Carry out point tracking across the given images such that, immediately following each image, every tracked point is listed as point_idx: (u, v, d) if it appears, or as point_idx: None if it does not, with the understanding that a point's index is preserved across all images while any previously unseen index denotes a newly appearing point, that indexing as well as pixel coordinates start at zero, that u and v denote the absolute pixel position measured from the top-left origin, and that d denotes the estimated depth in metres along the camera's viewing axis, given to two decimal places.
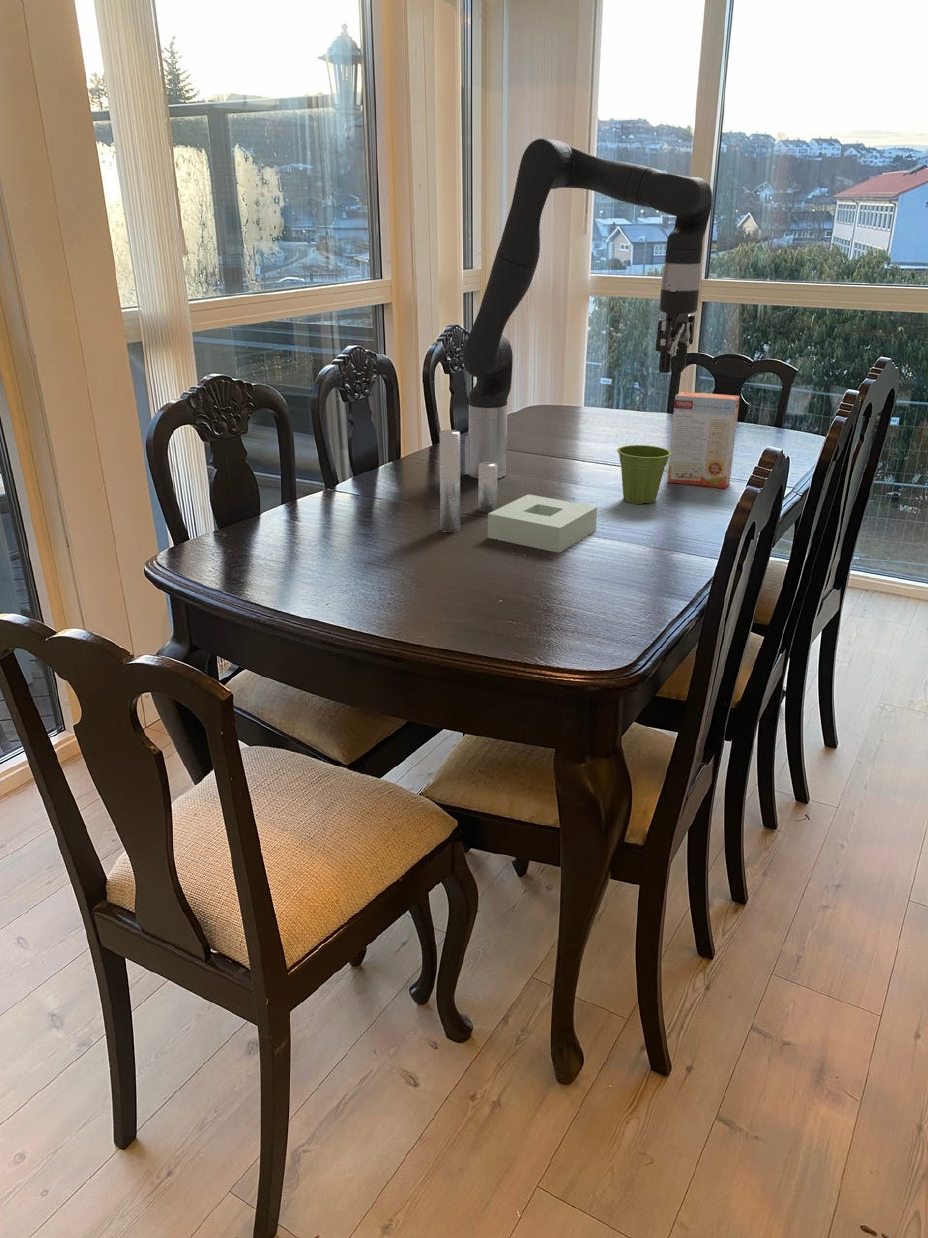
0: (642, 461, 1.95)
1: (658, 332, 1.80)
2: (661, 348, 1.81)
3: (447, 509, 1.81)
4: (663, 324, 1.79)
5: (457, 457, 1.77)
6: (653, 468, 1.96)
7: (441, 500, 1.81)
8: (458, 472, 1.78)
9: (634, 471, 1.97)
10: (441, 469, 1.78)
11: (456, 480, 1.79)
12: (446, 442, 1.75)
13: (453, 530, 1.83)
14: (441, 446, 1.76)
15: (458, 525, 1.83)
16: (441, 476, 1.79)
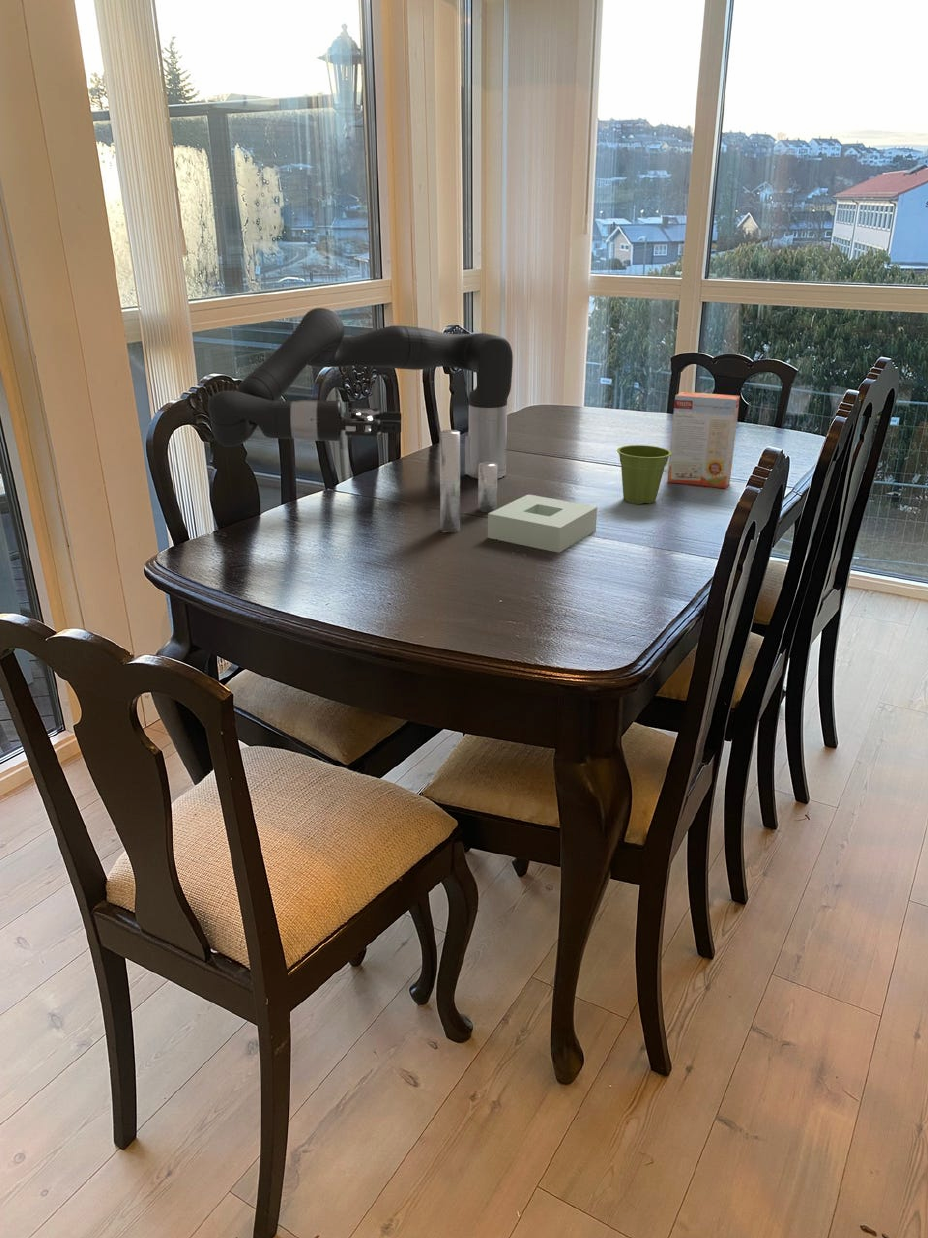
0: (642, 461, 1.95)
1: None
2: None
3: (447, 509, 1.81)
4: None
5: (457, 457, 1.77)
6: (653, 468, 1.96)
7: (441, 500, 1.81)
8: (458, 472, 1.78)
9: (634, 471, 1.97)
10: (441, 469, 1.78)
11: (456, 480, 1.79)
12: (446, 442, 1.75)
13: (453, 530, 1.83)
14: (441, 446, 1.76)
15: (458, 525, 1.83)
16: (441, 476, 1.79)
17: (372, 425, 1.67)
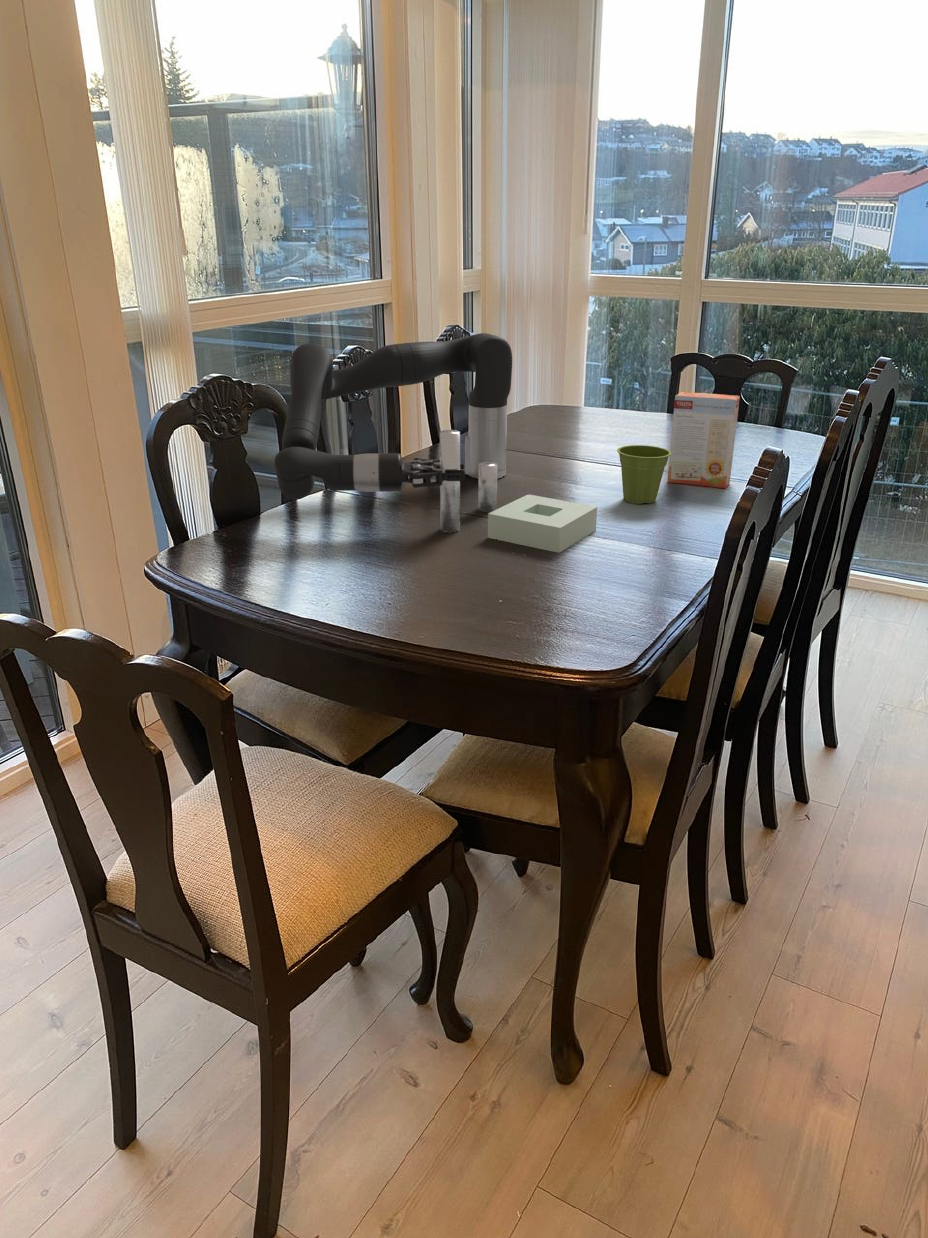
0: (642, 461, 1.95)
1: None
2: None
3: (447, 509, 1.81)
4: None
5: (457, 457, 1.77)
6: (653, 468, 1.96)
7: (441, 500, 1.81)
8: None
9: (634, 471, 1.97)
10: None
11: None
12: (446, 442, 1.75)
13: (453, 530, 1.83)
14: (441, 446, 1.76)
15: (458, 525, 1.83)
16: None
17: (437, 475, 1.75)
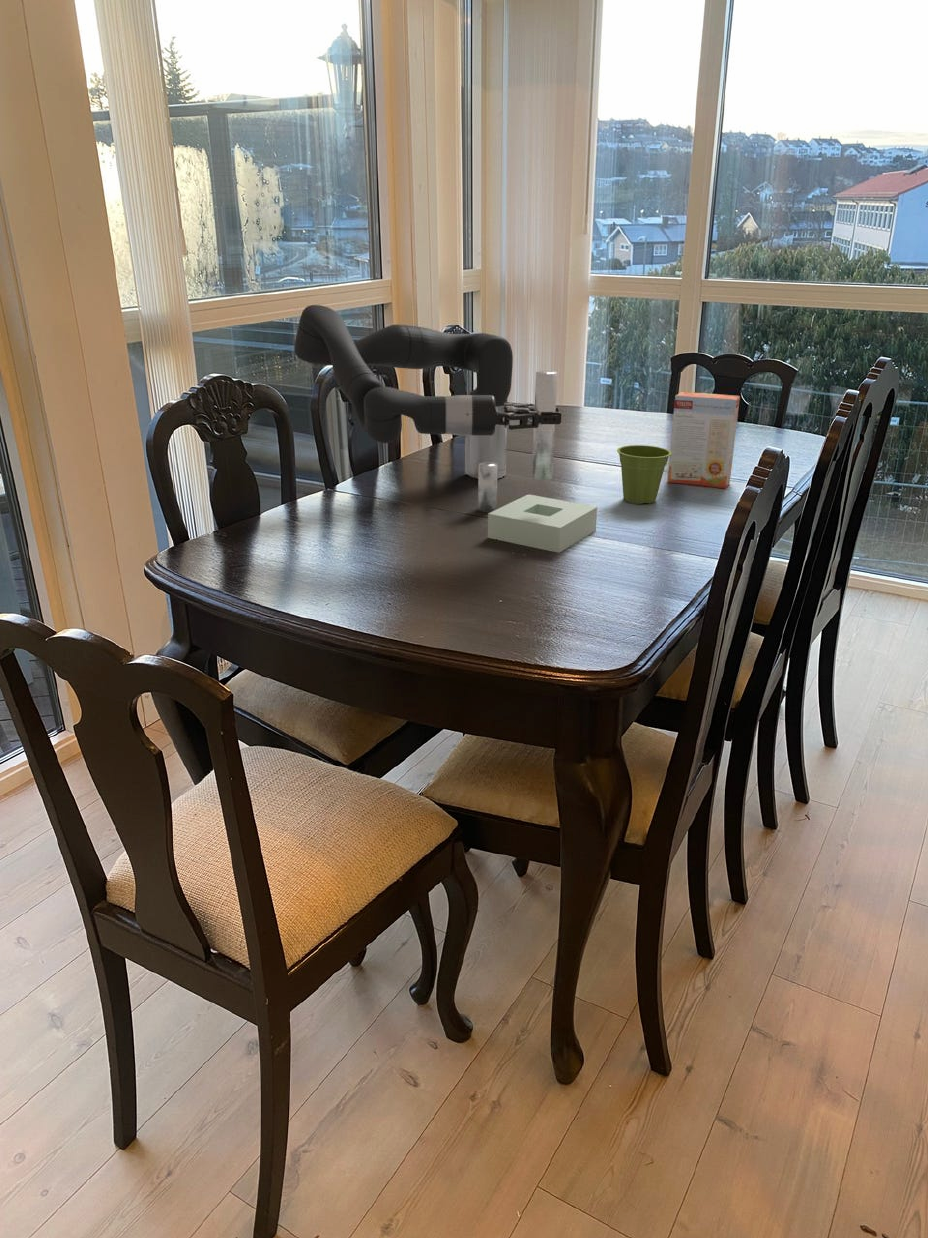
0: (642, 461, 1.95)
1: None
2: None
3: (541, 454, 1.73)
4: None
5: (553, 398, 1.70)
6: (653, 468, 1.96)
7: (534, 445, 1.74)
8: None
9: (634, 471, 1.97)
10: None
11: None
12: (543, 383, 1.68)
13: (546, 477, 1.75)
14: (537, 387, 1.69)
15: (551, 472, 1.76)
16: None
17: (533, 417, 1.67)
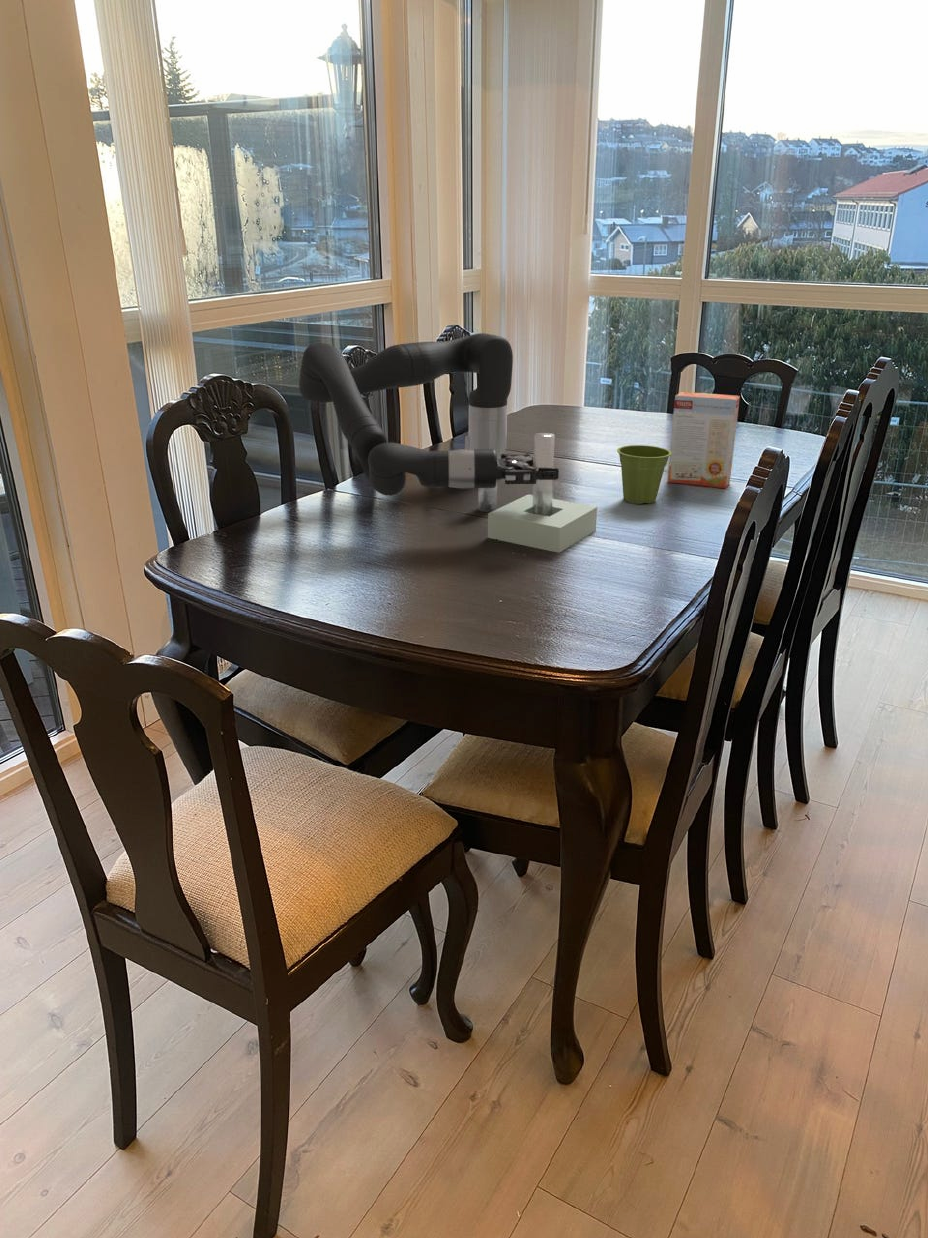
0: (642, 461, 1.95)
1: None
2: None
3: (540, 513, 1.78)
4: None
5: (551, 460, 1.74)
6: (653, 468, 1.96)
7: (534, 504, 1.79)
8: None
9: (634, 471, 1.97)
10: None
11: (550, 483, 1.76)
12: (541, 445, 1.73)
13: None
14: (535, 449, 1.74)
15: None
16: None
17: (531, 473, 1.70)
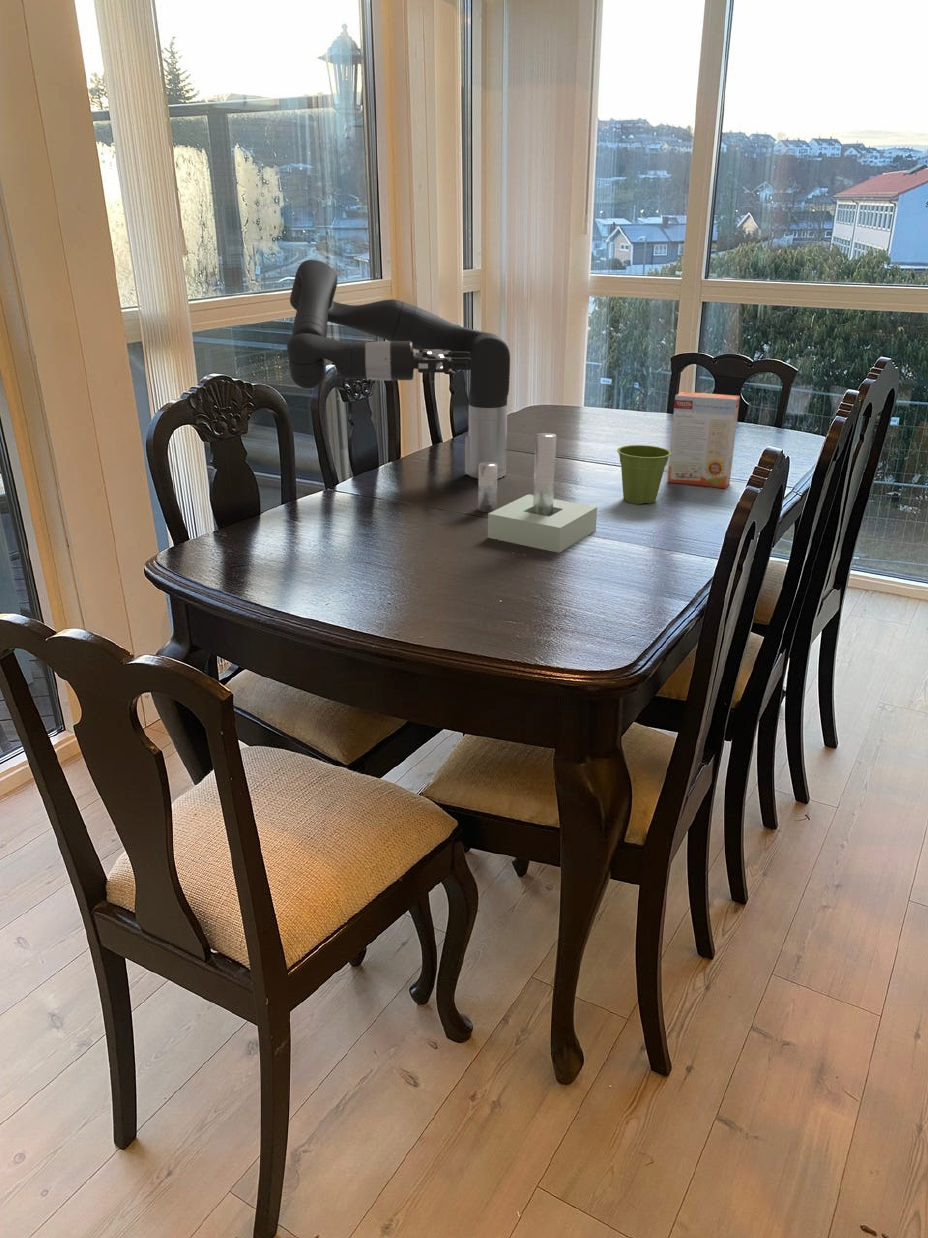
0: (642, 461, 1.95)
1: None
2: None
3: (541, 513, 1.78)
4: None
5: (553, 460, 1.74)
6: (653, 468, 1.96)
7: (534, 504, 1.79)
8: (553, 476, 1.76)
9: (634, 471, 1.97)
10: (536, 473, 1.76)
11: (551, 484, 1.76)
12: (542, 445, 1.73)
13: None
14: (536, 449, 1.74)
15: None
16: (535, 480, 1.76)
17: (443, 362, 1.74)
